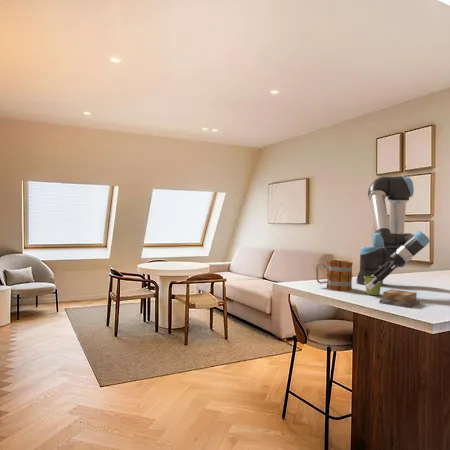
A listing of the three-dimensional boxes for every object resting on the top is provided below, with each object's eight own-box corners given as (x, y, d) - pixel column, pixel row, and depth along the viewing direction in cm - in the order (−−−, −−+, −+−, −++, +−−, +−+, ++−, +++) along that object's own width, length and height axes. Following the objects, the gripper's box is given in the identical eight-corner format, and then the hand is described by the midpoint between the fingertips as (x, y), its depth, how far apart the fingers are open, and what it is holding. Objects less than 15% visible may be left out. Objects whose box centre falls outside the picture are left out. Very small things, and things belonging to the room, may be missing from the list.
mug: (351, 287, 218) (351, 261, 218) (352, 291, 205) (353, 263, 205) (315, 285, 223) (316, 259, 223) (314, 289, 210) (315, 261, 210)
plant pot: (360, 292, 201) (360, 275, 201) (377, 292, 202) (377, 276, 202) (368, 296, 192) (368, 278, 192) (386, 296, 193) (386, 278, 193)
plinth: (379, 302, 177) (379, 292, 177) (390, 299, 187) (391, 288, 187) (409, 307, 168) (409, 296, 168) (419, 303, 178) (419, 292, 178)
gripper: (411, 264, 182) (375, 295, 186) (401, 260, 204) (369, 288, 208) (399, 252, 184) (363, 284, 188) (391, 249, 205) (359, 277, 209)
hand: (366, 286), depth 198 cm, fingers closed on plant pot, 9 cm apart
